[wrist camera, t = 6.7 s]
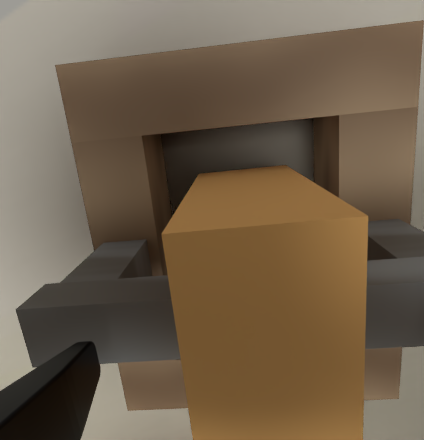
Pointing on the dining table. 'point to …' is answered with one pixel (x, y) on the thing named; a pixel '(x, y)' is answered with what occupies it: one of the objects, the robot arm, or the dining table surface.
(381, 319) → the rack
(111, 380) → the dining table surface
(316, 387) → the orange arch block
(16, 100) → the dining table surface
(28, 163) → the dining table surface
